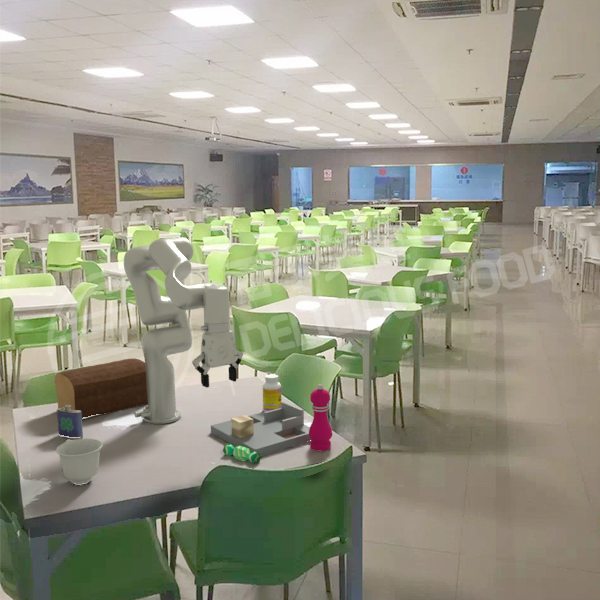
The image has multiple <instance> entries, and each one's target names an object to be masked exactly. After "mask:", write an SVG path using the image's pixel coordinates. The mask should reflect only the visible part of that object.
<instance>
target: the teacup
mask: <svg viewBox="0 0 600 600" xmlns="http://www.w3.org/2000/svg"><path fill="white" fill-rule="evenodd" d="M101 448H103V442H101V441H100V440H99V439H95V438H94V439H93V438H81V439H71V438H67V439H66V440H65V442H64V443H60V444H59V445H58V446H57V448H56V450H55V451H56V454H58V455H59V458H60V463H61V468H62V473H63V475H64V476H65V478H67V479H68V480H70V483H71V482H72V483H76V484H82V483H87V482H89V481H91V480H92V478H93V477H94V476H96V475H97V473H98V471H99V467H100V453H101Z"/></svg>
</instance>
